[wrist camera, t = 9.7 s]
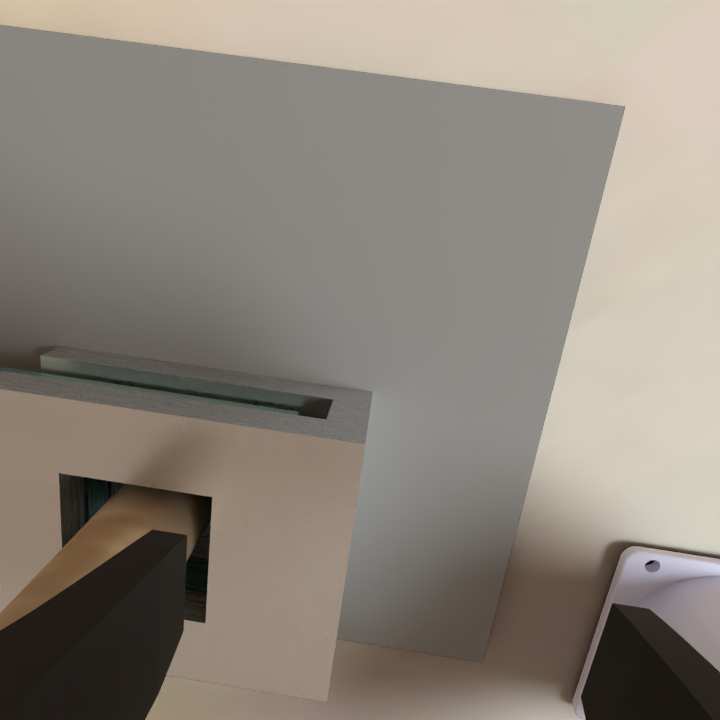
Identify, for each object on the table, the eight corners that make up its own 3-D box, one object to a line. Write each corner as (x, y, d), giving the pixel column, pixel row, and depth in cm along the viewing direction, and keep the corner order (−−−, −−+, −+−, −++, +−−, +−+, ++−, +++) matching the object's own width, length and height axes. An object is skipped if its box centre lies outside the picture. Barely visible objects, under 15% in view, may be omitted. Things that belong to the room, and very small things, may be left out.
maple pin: (231, 450, 19) (89, 665, 10) (223, 521, 20) (85, 774, 11) (149, 433, 19) (-63, 633, 10) (144, 505, 20) (-54, 744, 11)
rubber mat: (617, 109, 15) (625, 106, 15) (480, 650, 21) (482, 662, 21) (-113, 14, 16) (-132, 7, 15) (-48, 563, 22) (-60, 573, 21)
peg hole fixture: (372, 392, 18) (365, 444, 14) (340, 608, 20) (327, 702, 16) (-64, 326, 18) (-188, 360, 14) (-40, 546, 21) (-138, 623, 17)
